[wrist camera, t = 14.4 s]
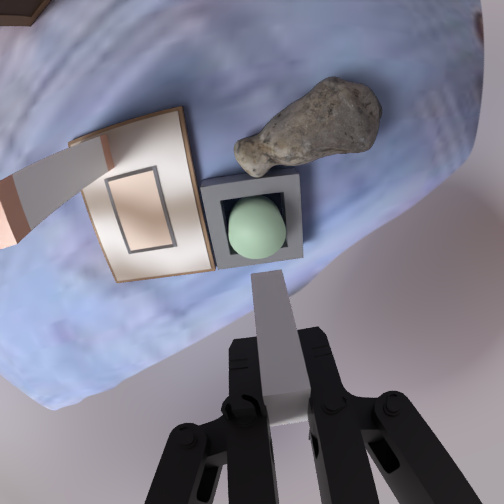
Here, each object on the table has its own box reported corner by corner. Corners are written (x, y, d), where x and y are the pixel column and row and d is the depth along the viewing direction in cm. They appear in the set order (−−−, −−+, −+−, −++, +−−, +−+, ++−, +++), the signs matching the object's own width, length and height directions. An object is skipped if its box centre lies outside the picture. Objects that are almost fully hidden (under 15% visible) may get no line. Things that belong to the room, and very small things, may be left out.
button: (225, 199, 20) (223, 212, 18) (278, 191, 20) (283, 204, 18) (233, 245, 22) (233, 262, 20) (282, 238, 22) (287, 255, 20)
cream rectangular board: (71, 141, 17) (66, 142, 17) (182, 105, 17) (180, 105, 16) (118, 279, 25) (116, 284, 24) (215, 266, 24) (215, 271, 24)
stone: (241, 174, 21) (325, 228, 18) (207, 144, 16) (312, 208, 13) (308, 86, 20) (392, 125, 17) (291, 43, 15) (397, 80, 12)
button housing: (203, 179, 20) (200, 187, 19) (293, 167, 20) (299, 173, 18) (219, 256, 24) (218, 269, 22) (298, 245, 24) (303, 257, 22)
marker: (78, 144, 17) (-32, 201, 7) (106, 133, 17) (-6, 183, 7) (86, 176, 18) (-12, 253, 8) (114, 167, 18) (17, 243, 8)
